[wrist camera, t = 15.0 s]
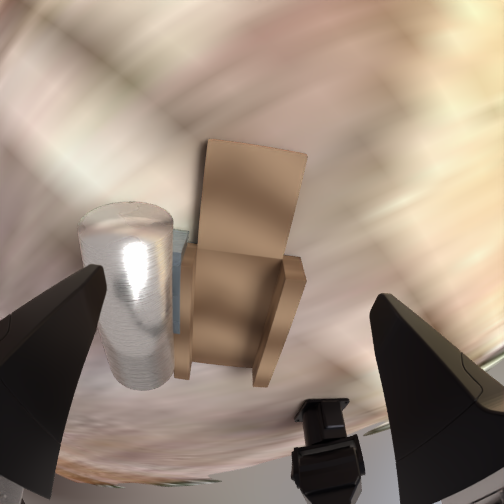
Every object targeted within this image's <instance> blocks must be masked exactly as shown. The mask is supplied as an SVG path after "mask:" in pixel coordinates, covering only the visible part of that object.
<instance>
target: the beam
mask: <svg viewBox="0 0 504 504" xmlns="http://www.w3.org/2000/svg"><path fill="white" fill-rule="evenodd" d="M307 157H308V156H307V154H304V153H299V152H294V151H288V150H283V149H277V148H272V147H266V146H259V145H253V144H246V143H239V142H232V141H224V140H216V139H209V140H208V145H207V153H206V161H205V170H204V179H203V189H202V199H201V209H200V220H199V232H198V244H194V243H188V244H187V247H186V250H185V254H184V257H183V260H182V263H181V273H180V334H175V333H173V339H174V360H175V367H174V378H179V379H185V380H189V378H190V371H191V364H192V362H199V363H207V364H216V365H225V366H235V367H246V368H252V375H253V387H268V385H269V382H270V380H271V377H272V375H273V372H274V369H275V367H276V364H277V362H278V359H279V357H280V354H281V351H282V349H283V346H284V343H285V341H286V338H287V335H288V333H289V330H290V327H291V324H292V322H293V319H294V316H295V313H296V310H297V308H298V305H299V302H300V299H301V296H302V293H303V290H304V287H305V284H306V281H307V280H306V276H305V273H304V269H303V265H302V262H301V258H300V257H294V256H286V255H284V251H285V247H286V244H287V240H288V236H289V232H290V228H291V224H292V220H293V216H294V212H295V208H296V204H297V199H298V195H299V191H300V187H301V183H302V179H303V174H304V170H305V166H306V162H307Z"/></svg>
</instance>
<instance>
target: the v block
mask: <svg viewBox="0 0 504 504" xmlns="http://www.w3.org/2000/svg"><path fill="white" fill-rule="evenodd" d="M188 234H189V231H183V230H175V229H173V253H172V305H173V333H175V334H180V273H181V263H182V260H183V257H184V254H185V250H186V247H187V244H188Z"/></svg>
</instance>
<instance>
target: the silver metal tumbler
mask: <svg viewBox="0 0 504 504" xmlns="http://www.w3.org/2000/svg"><path fill="white" fill-rule="evenodd" d="M77 231H78V237H79V244H80V250H81V256H82V261H83V267H86V266H88V265H89V264H98V265H102V266H103V268H104V273H105V278H106V283H107V292H106V296H105V299H104V303H103V306H102V310H101V313H100V317H99V321H98V325H97V326H98V330H99V333H100V337H101V340H102V344H103V347H104V350H105V353H106V356H107V359H108V362H109V365H110V368H111V371H112V374H113V375H114V377H115V378H116V380H117V381H118V382H119V383H121V384H122V385H124V386H125V387H128V388H130V389H133V390H140V391H145V390H152V389H155V388H158V387H160V386H161V385H163V384H164V383H166V382H167V381H168V380H169V379H170V377H171V376H172V374H173V371H174V367H175V360H174V339H173V305H172V253H173V218H172V216H171V215H170V214H169V213H168V212H167V211H166V210H164V209H163V208H161V207H158V206H156V205H153V204H149V203H143V202H118V203H112V204H107V205H104V206H101V207H98V208H96V209H94V210H92V211H90V212H89V213H87V214H86V215H85V216H83V217H82V219H81V220H80V221H79V223H78V227H77Z"/></svg>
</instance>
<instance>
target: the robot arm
mask: <svg viewBox="0 0 504 504" xmlns="http://www.w3.org/2000/svg"><path fill="white" fill-rule="evenodd" d="M106 292H107V283H106V278H105V273H104V268H103V266H102V265H98V264H89V265H88V266H86V267H84V268H82V269H81V270H79V271H77V272H76V273H74V274H72V275H71V276H69V277H67V278H66V279H64V280H62V281H61V282H59V283H58V284H56V285H54V286H53V287H51V288H50V289H48V290H46V291H45V292H43V293H42V294H40V295H38V296H37V297H35V298H34V299H32V300H31V301H29V302H28V303H26V304H25V305H23V306H21V307H20V308H18V309H17V310H15V311H14V312H12V314H9V315H8V316H7V317H5V318H4V319H2V320H1V321H0V504H25V503H24V501H23V499H22V494H23V490H24V488H25V489H27V490H30V491H32V492H34V493H36V494H38V495H40V496H43V497H45V498H47V499H50V497H51V493H52V486H53V481H54V475H55V470H56V465H57V460H58V455H59V451H60V446H61V441H62V437H63V433H64V429H65V425H66V421H67V418H68V414H69V410H70V407H71V403H72V400H73V397H74V393H75V390H76V387H77V384H78V380H79V377H80V374H81V371H82V368H83V365H84V362H85V360H86V357H87V354H88V351H89V348H90V346H91V343H92V340H93V337H94V335H95V332H96V328H97V325H98V321H99V317H100V313H101V310H102V306H103V303H104V299H105V296H106ZM370 324H371V330H372V337H373V344H374V351H375V356H376V361H377V365H378V370H379V374H380V378H381V383H382V388H383V392H384V397H385V402H386V407H387V412H388V418H389V423H390V429H391V434H392V440H393V447H394V453H395V460H396V469H397V477H398V485H399V495H400V504H433V503H435V502H438V501H440V500H441V501H442V504H504V386H503V385H501V384H500V383H499V382H498V381H497V380H495V379H494V378H493V377H491V376H490V375H489V374H488V373H486V372H485V371H484V370H483V369H481V368H480V367H479V366H478V365H476V364H475V363H474V362H473V361H472V360H470V359H469V358H468V357H467V356H466V355H465V354H464V353H462V352H460V350H459V349H458V348H456V347H455V346H454V345H453V344H452V343H451V342H449V341H448V340H447V339H446V338H445V337H444V336H442V335H441V334H440V333H439V332H438V331H436V330H435V329H434V328H433V327H431V326H430V325H429V324H428V323H427V322H425V321H424V320H423V319H422V318H421V317H419V316H418V315H417V314H416V313H414V312H413V311H412V310H411V309H409V308H408V307H407V306H406V305H404V304H403V303H402V302H401V301H399V300H398V299H397V298H396V297H394V296H393V295H392V294H388V293H381V294H379V295H378V296H377V298H376V300H375V303H374V305H373V307H372V309H371V311H370ZM349 402H350V401H349V399H324V400H307V401H306V402H305V403H304V405H303V406H302V408H301V409H300V411H299V412H298V414H297V415H296V417H295V418H294V420H295V422H303V428H304V437H305V445H306V446H305V447H299V448H298V447H296V448H294V451H293V452H292V471H291V479H292V480H294V481H295V484H296V485H297V488H298V489H300V490H301V492H302V494H303V496H304V498H305V500H306V502H307V503H308V504H355V503H356V501H357V499H358V497H359V495H360V493H361V491H362V489H361V488H362V487H361V476H362V475H365V467H364V461H363V456H362V452H361V448H360V444H359V440H358V436H357V434H355V435H353V436H350V437H347V434H346V429H345V423H344V418H343V414H342V411H343V409H344V408H345V407H346V406H347V405H348V403H349Z"/></svg>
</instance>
